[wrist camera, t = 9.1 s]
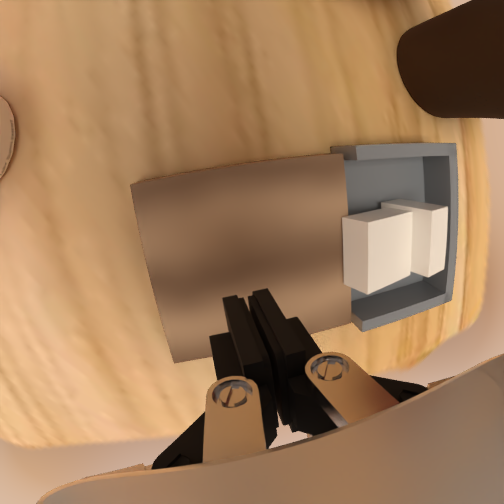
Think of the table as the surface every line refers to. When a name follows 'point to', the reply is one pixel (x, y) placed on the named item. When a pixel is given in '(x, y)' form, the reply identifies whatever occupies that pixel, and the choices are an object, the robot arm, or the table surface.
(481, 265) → the table surface
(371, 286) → the tile
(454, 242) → the box
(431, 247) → the tile
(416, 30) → the olive oil
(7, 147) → the supplement can
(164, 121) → the table surface
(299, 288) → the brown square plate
